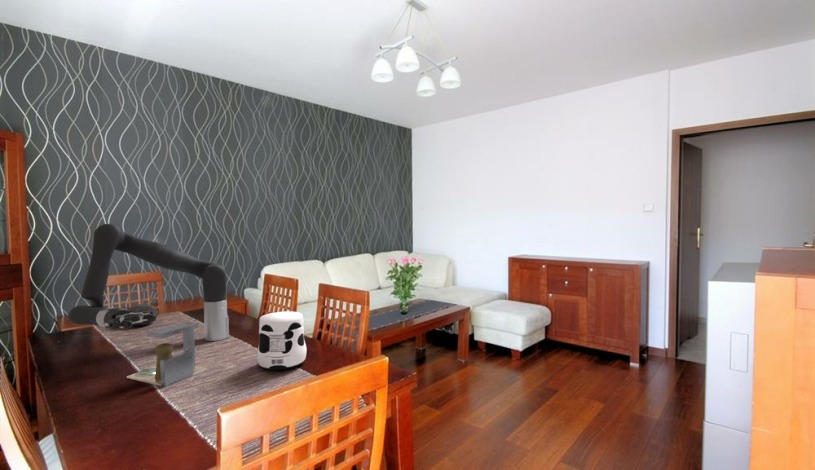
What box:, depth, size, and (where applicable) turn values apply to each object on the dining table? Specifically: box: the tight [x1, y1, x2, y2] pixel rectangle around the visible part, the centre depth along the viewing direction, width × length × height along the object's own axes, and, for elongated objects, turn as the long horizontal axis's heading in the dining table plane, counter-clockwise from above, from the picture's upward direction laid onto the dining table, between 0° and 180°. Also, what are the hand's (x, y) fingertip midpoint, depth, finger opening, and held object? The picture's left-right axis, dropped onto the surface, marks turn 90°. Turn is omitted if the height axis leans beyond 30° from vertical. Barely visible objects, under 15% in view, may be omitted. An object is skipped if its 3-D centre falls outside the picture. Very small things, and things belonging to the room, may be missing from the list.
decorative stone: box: [127, 303, 159, 327], centre depth 203 cm, size 19×14×10 cm
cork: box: [154, 342, 174, 380], centre depth 135 cm, size 6×6×11 cm
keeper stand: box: [126, 321, 207, 388], centre depth 138 cm, size 19×16×16 cm
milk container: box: [256, 311, 307, 371], centre depth 146 cm, size 17×17×18 cm
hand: (143, 321), depth 141 cm, fingers open, 8 cm apart
